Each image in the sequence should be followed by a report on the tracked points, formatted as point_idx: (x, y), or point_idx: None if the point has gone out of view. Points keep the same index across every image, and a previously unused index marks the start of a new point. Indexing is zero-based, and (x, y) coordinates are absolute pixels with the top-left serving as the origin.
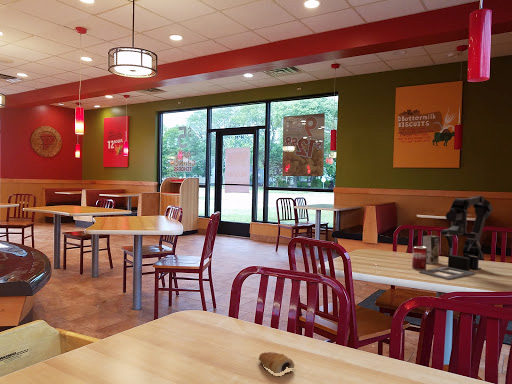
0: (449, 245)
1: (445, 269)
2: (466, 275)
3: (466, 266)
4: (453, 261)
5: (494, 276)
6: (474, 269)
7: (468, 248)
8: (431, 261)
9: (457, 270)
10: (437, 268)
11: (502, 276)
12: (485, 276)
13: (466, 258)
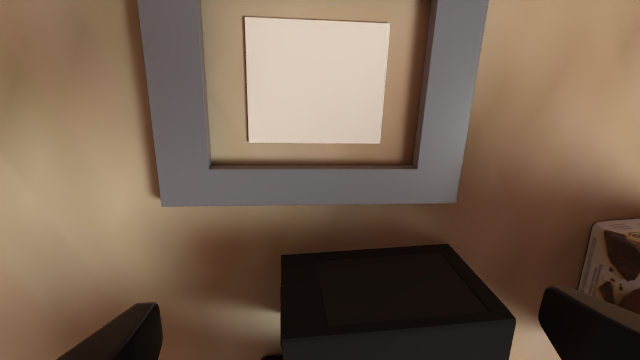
0: (629, 313)
1: (418, 118)
2: (144, 26)
3: (283, 280)
4: (426, 286)
5: (34, 285)
6: (268, 357)
7: (77, 358)
8: (614, 235)
9: (319, 166)
10: (471, 14)
11: (12, 347)
12: (62, 206)
13: (298, 354)
